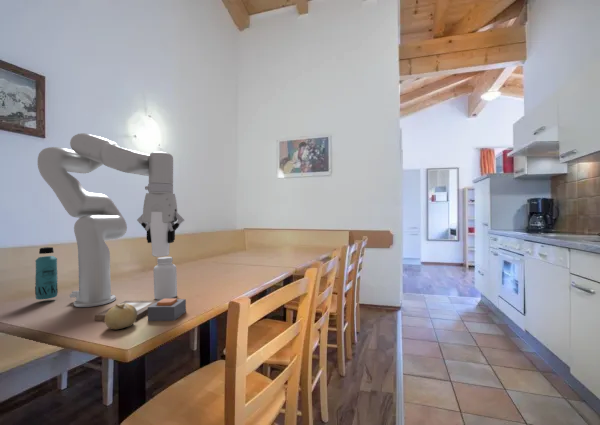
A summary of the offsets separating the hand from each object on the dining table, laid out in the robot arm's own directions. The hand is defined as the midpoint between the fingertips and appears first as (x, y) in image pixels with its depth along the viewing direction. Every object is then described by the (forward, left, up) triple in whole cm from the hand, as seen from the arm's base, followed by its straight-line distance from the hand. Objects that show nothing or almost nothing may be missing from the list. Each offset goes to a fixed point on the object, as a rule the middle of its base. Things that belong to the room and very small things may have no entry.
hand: (160, 242), depth 103 cm
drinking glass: (0, 0, -5) cm, 5 cm away
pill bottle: (-5, +12, -22) cm, 26 cm away
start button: (+6, -9, -20) cm, 23 cm away
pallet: (-8, -5, -22) cm, 24 cm away
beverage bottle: (-48, +8, -22) cm, 53 cm away
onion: (-3, -18, -22) cm, 29 cm away
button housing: (+6, -9, -22) cm, 25 cm away
